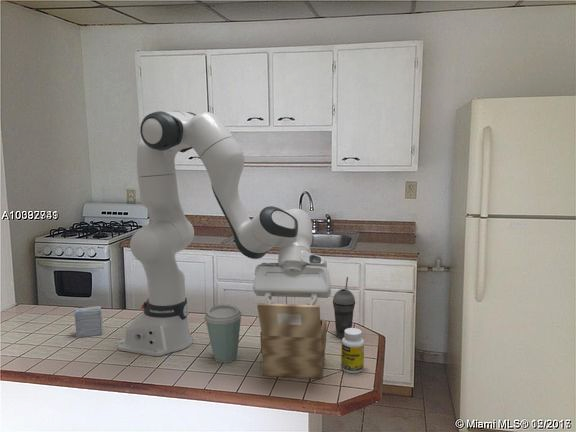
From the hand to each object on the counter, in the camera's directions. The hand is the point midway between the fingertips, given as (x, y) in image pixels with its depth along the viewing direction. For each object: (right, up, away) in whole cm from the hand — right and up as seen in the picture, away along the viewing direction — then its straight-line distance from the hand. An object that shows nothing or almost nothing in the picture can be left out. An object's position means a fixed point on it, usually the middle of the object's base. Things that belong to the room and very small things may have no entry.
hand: (290, 311), depth 122 cm
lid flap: (0, -3, +2) cm, 3 cm away
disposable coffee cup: (-19, -18, +19) cm, 32 cm away
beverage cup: (+17, -15, +34) cm, 41 cm away
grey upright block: (-66, -15, +38) cm, 77 cm away
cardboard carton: (+1, -18, +13) cm, 23 cm away
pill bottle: (+17, -19, +12) cm, 28 cm away
